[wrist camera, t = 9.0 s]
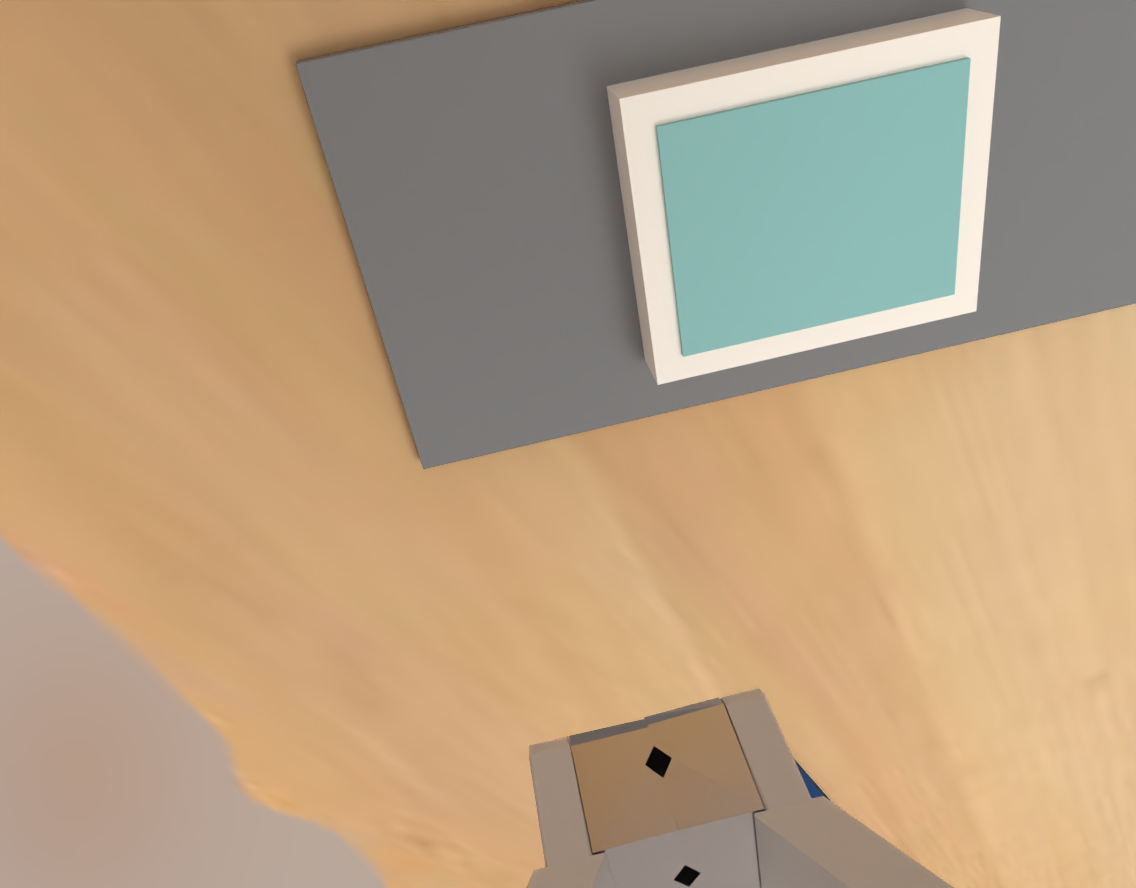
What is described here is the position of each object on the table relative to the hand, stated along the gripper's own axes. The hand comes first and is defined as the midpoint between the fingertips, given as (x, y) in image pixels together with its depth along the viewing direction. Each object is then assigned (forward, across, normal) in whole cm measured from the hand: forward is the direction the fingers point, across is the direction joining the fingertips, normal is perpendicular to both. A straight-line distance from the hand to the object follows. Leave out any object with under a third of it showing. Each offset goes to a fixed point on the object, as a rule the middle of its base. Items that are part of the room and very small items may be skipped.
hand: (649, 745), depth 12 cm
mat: (+23, -10, +2) cm, 25 cm away
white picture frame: (+22, -4, +2) cm, 22 cm away
